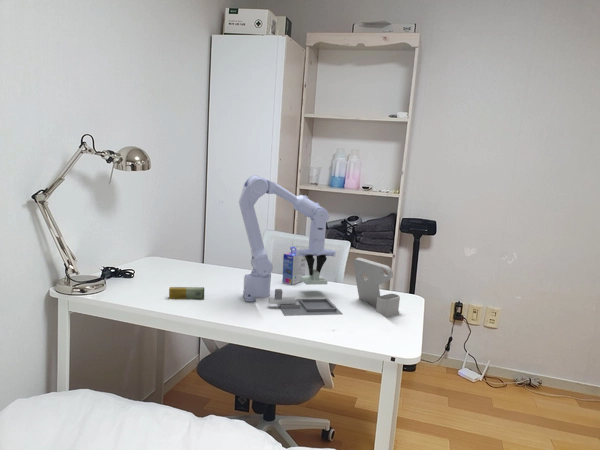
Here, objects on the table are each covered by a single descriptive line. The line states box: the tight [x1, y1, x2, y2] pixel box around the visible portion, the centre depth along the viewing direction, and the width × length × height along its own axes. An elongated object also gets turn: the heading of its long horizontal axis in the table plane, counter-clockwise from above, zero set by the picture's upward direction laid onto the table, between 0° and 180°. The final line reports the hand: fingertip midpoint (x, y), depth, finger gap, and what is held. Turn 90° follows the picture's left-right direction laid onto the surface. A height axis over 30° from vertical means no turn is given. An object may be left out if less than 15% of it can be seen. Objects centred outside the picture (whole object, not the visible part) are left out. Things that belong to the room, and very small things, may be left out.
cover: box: [301, 268, 328, 286], centre depth 172 cm, size 8×8×4 cm
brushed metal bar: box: [268, 288, 297, 305], centre depth 155 cm, size 9×2×4 cm, turn 105°
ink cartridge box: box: [282, 246, 307, 286], centre depth 191 cm, size 10×6×14 cm, turn 148°
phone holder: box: [352, 257, 401, 319], centre depth 164 cm, size 17×10×18 cm, turn 42°
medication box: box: [168, 286, 205, 301], centre depth 161 cm, size 12×3×4 cm, turn 100°
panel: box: [276, 298, 343, 317], centre depth 158 cm, size 20×16×3 cm
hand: (314, 274), depth 172 cm, fingers closed on cover, 2 cm apart
